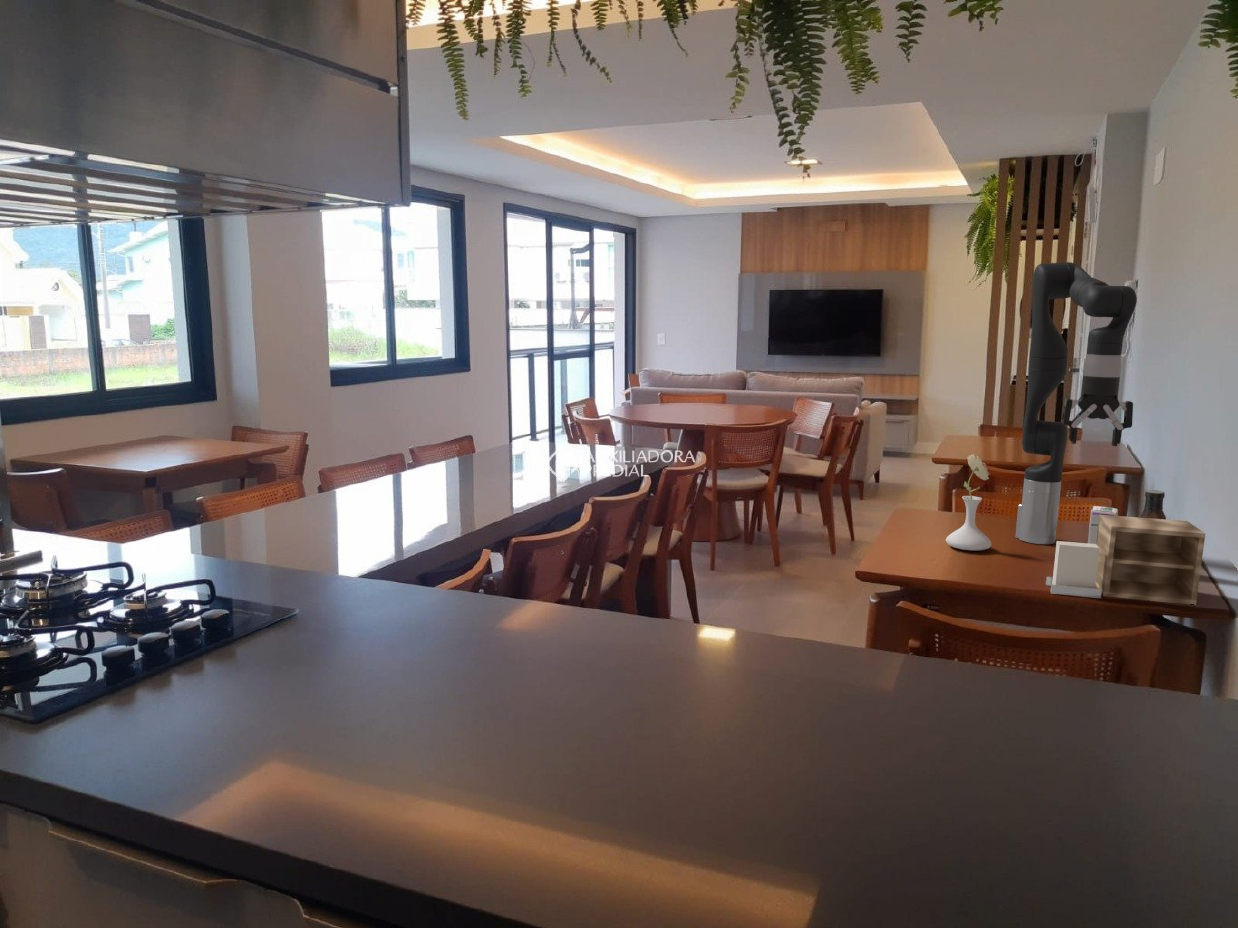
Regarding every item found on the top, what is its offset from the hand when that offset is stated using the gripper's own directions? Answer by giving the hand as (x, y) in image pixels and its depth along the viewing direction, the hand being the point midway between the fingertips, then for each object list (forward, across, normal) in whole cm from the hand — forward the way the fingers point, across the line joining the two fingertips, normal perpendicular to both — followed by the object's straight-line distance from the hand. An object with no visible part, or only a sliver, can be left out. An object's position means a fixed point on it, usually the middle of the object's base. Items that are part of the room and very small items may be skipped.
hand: (1093, 444), depth 204 cm
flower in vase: (+32, -23, +20) cm, 45 cm away
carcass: (+32, +12, -8) cm, 35 cm away
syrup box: (+32, +7, +14) cm, 36 cm away
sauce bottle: (+32, +18, +13) cm, 39 cm away
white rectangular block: (+32, -4, -12) cm, 34 cm away
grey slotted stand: (+32, -4, -12) cm, 34 cm away
